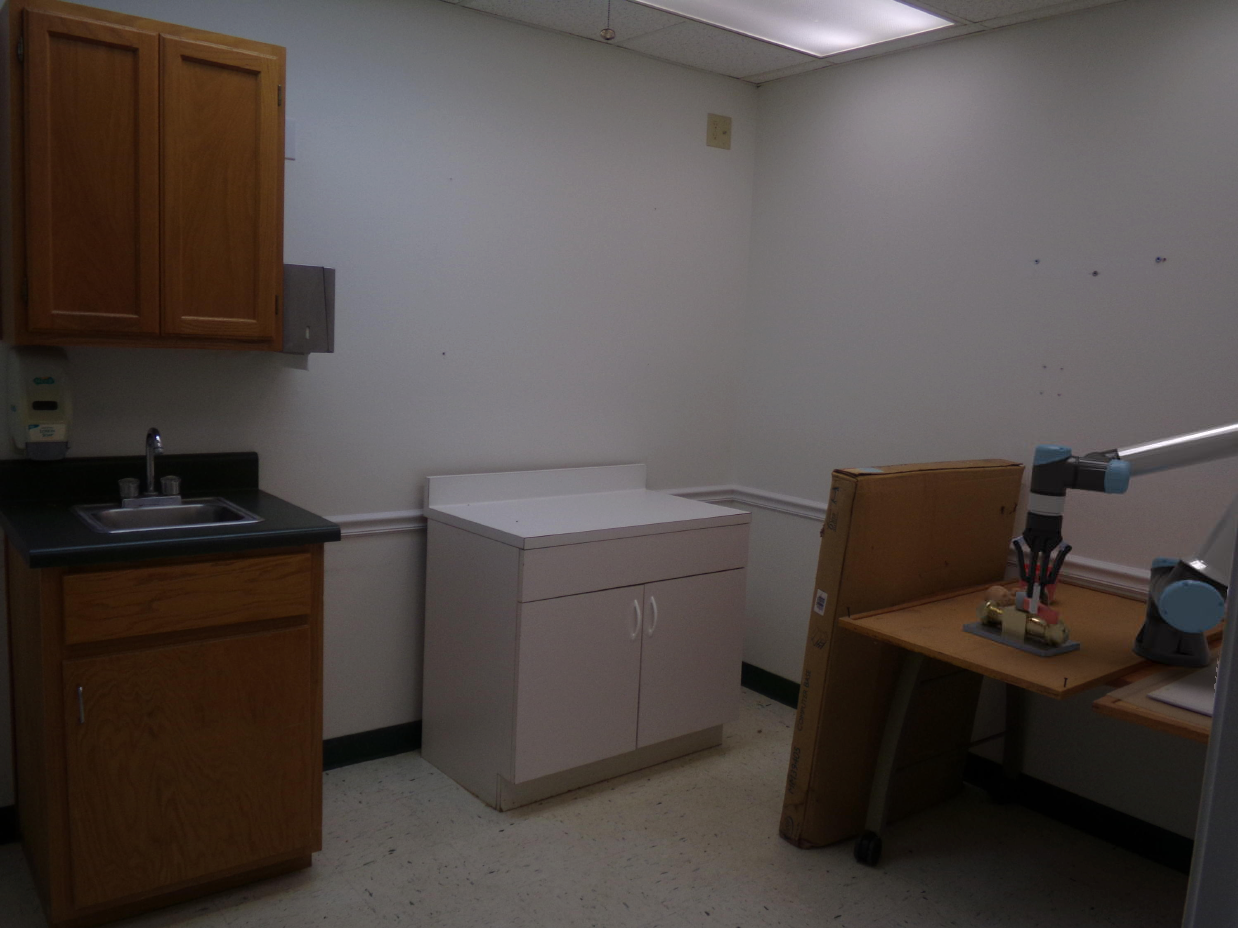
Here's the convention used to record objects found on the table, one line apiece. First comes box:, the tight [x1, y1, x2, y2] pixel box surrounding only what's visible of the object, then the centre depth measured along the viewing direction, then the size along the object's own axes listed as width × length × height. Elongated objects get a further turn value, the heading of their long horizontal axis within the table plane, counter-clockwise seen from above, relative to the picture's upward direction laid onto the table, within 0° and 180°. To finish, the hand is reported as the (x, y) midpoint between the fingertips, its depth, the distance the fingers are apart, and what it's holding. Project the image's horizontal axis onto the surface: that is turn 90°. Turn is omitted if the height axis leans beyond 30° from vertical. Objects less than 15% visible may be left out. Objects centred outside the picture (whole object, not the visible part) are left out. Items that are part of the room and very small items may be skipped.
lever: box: [1015, 591, 1060, 624], centre depth 213 cm, size 4×16×4 cm, turn 3°
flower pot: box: [1018, 562, 1061, 605], centre depth 256 cm, size 11×11×10 cm
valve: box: [962, 600, 1081, 658], centre depth 220 cm, size 22×14×8 cm, turn 32°
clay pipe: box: [983, 585, 1050, 608], centre depth 236 cm, size 19×11×15 cm
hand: (1032, 611), depth 211 cm, fingers closed
